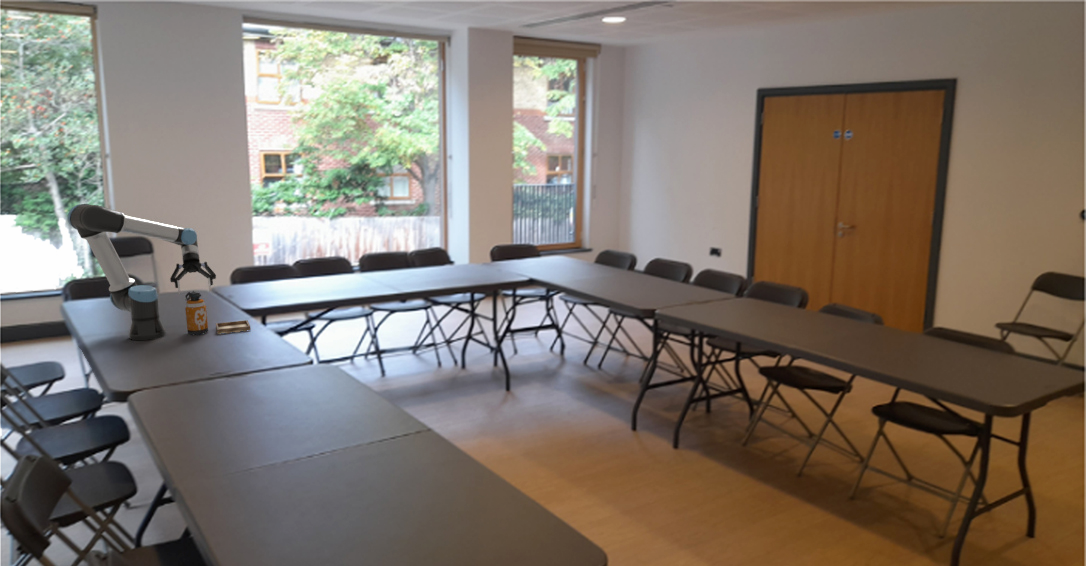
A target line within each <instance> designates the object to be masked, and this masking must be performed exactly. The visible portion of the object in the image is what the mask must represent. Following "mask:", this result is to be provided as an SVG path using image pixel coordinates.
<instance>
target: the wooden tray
mask: <svg viewBox="0 0 1086 566" xmlns="http://www.w3.org/2000/svg"><path fill="white" fill-rule="evenodd" d="M215 329H216V332H217V333H216V334H217V335H222V334H221V333H226V334H231V332H235V333H241V332H240V331H244V332H248V331H247V330H251V324H250V323H249V321H248V320H247V319H245V320H244V319H243V320H236V321H225V322H218V323H217V322H216V323H215Z"/></svg>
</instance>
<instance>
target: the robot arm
mask: <svg viewBox="0 0 1086 566" xmlns="http://www.w3.org/2000/svg"><path fill="white" fill-rule="evenodd" d="M68 211H69V212H68V214H67V221H68V224H69V225H70V226H71V227H72V228H73V229H75V230H76V231H77V233H78V235H79V236H80V238H81V239H83V240H86V241H87V243H88V245H89V247H90V249H91V251H92V253H93V255H94V257H95V259H96V261H97V262H98V264H99V266H100V268H101V270H102V272H103V274H104V276H105V277H106V280H107V282H108V283H109V285H110V286H109V287H108V291H109V293H110V294H109V299H110V303H111V304H112V306H114V307H115V308H117V309H118V310H121V311H125V312H130V317H131V323H130V328H129V332H128V338H130V339H129V340H131V339H132V341H147V340H148V339H150V340H155V338H156V339H159V338H163V337H164V335H165V336H166V329H165V327H164V325H163V323H162V321H161V318H160V317H161V316H160V308H159V307H160V306H159V296H158V292H157V291H158V290H157V288H156V287H154V286H152V285H146V284H145V285H143V284H140V285H138V284H137V282H136V280H135V278H132V277H130V276H129V274H128V272H127V270H126V268H125V266H124V265H123V263H122V260H121V259H120V256H119V254H118V253H117V251H116V249H115V247H114V244H113V243H112V241H111V239H110V237H109V235H108V233H114V234H120V233H125V234H131V235H137V236H141V237H147V238H150V239H151V238H152V239H157V240H160V241H161V240H162V241H165V242H168V243H170V244H171V243H172V244H174V245H177V246H179V247H180V248H181V255H182V256H181V257H182V258H181V259H182V264H179V263H176V266H175V268H174V271H173V272H172V274H171V276H170V279H169V280H170V283H174V288H175V289H177V290H178V291H177V292H178V295H181V286H180V285H181V284H180V280H181V279H182V278H183V277H184V276H185V275H187V274H188V273H189V274H192V273H199V274H201V275H202V276H203V277H205V278H206V279H207V281H208V282H207V283H208V289H209V293H212V286H213V285H214V281H213V280H216V279H217V275H216V273H215V272H214V271H213V270H212V269H211V267H210V266H209V265H208V262H207V261H204V262H202V263H201V261H200V254H199V245H198V235H197V232H196V230H194V229H193V228H192V227H189V228H188V227H180V226H176V225H171V224H166V223H161V222H158V221H152V220H149V219H143V218H139V217H136V216H135V217H134V216H129V215H127V214H126V215H125V214H124V213H123V212H122V211H117V210H114V209H110V208H109V207H108V208H107V207H105V206H102V205H96V204H90V203H89V204H88V203H81V204H80V203H79V204H76V205H74V206H72V207H71V208H70V209H69V210H68ZM181 269H182V270H181ZM204 269H205V270H204ZM180 270H181V271H180ZM179 271H180V273H179ZM162 336H163V337H162ZM148 341H149V340H148Z"/></svg>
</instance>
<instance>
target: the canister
mask: <svg viewBox="0 0 1086 566" xmlns="http://www.w3.org/2000/svg"><path fill="white" fill-rule="evenodd" d="M200 297H202V294H201V292H196V291H195V290H193V291H192V292H190V291H188V292H187V293H186V295H185V301H186V302H185V305H186V306H185V307H184V309H185V310H184V311H185V319H186V328H187V329H186V330H187V334H189V335H192V334H194V335H193V336H197V335H196V334H199V335H203V333H204V334H205V333H207V332H209V325H208V323H209V322H208V315H207V313H208V312H207V305H206V304H205V300H204V299H202V298H200Z"/></svg>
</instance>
